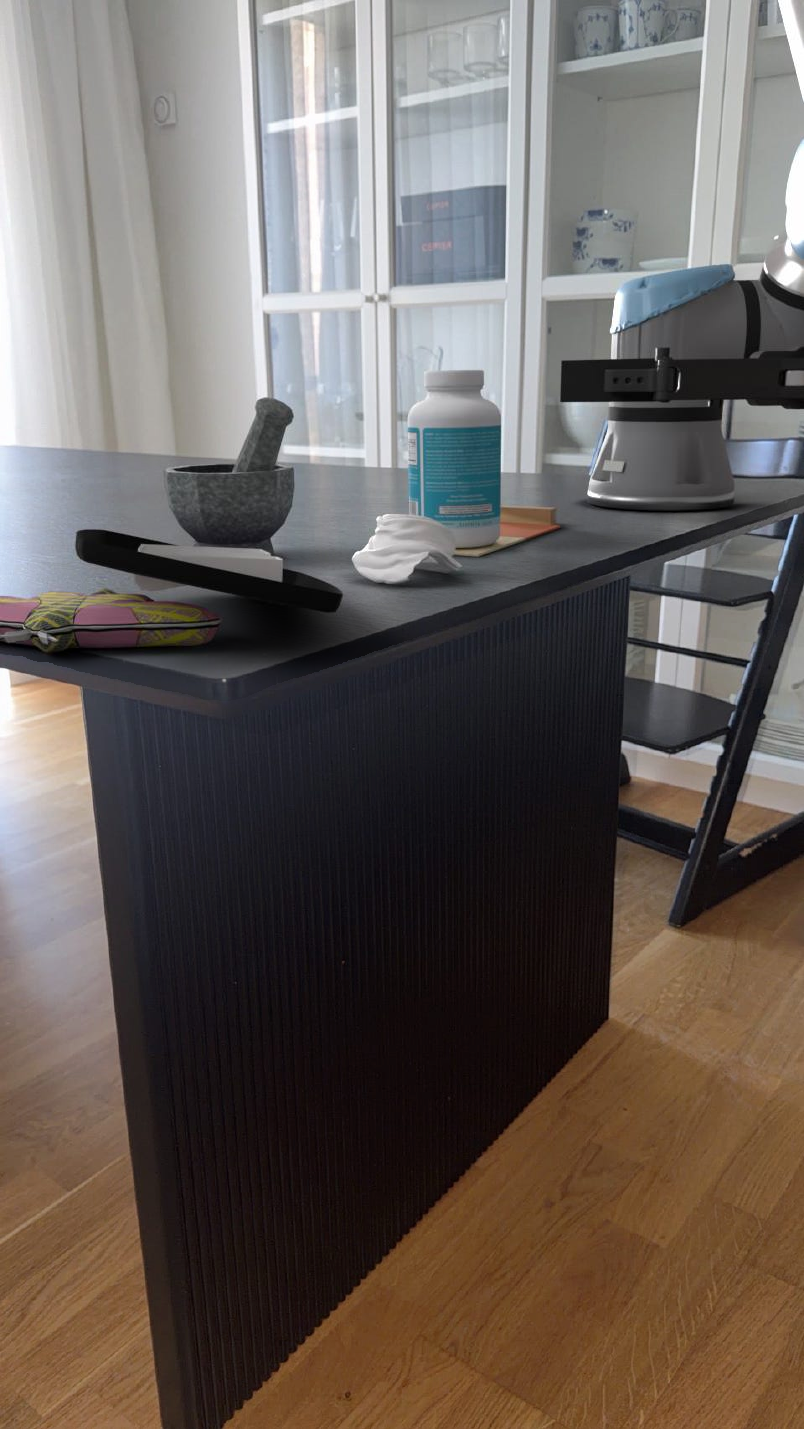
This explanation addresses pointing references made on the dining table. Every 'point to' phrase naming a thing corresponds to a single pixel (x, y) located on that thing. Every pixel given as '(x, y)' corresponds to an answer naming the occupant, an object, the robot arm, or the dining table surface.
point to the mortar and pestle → (238, 488)
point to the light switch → (206, 569)
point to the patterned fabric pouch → (103, 621)
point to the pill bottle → (456, 457)
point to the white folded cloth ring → (406, 549)
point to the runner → (508, 537)
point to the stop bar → (528, 515)
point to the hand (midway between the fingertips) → (594, 381)
